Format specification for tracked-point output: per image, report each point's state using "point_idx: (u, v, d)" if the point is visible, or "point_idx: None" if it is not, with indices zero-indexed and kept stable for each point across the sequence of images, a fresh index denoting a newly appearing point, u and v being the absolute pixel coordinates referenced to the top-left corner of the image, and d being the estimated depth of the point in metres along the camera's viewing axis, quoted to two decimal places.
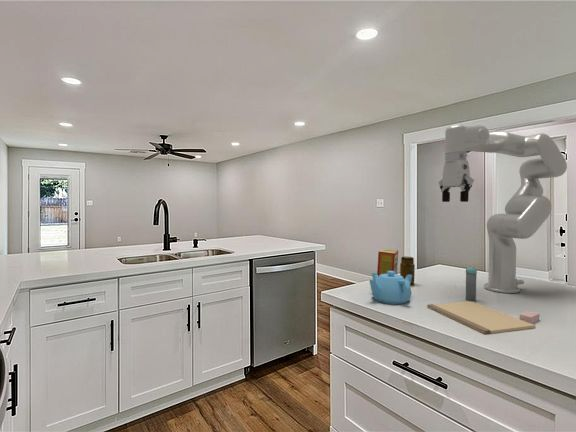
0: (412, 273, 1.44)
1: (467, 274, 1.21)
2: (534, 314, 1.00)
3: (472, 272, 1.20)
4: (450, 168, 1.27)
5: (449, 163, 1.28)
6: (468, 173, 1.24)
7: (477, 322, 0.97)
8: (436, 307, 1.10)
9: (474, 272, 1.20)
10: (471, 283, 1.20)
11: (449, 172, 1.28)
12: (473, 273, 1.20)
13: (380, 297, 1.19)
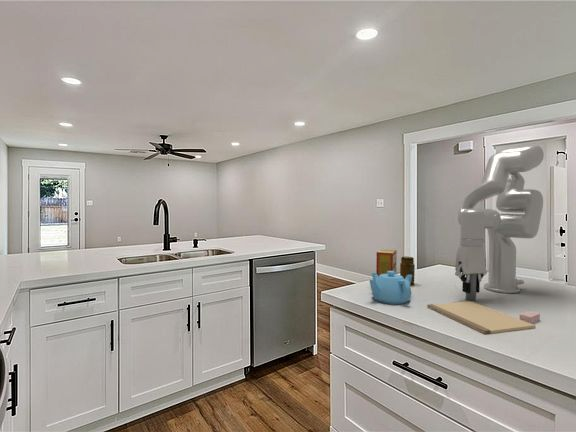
0: (412, 273, 1.44)
1: None
2: (534, 314, 1.00)
3: None
4: (477, 255, 1.19)
5: (476, 249, 1.18)
6: None
7: (477, 322, 0.97)
8: (436, 307, 1.10)
9: None
10: (471, 283, 1.20)
11: (476, 259, 1.19)
12: None
13: (380, 297, 1.19)
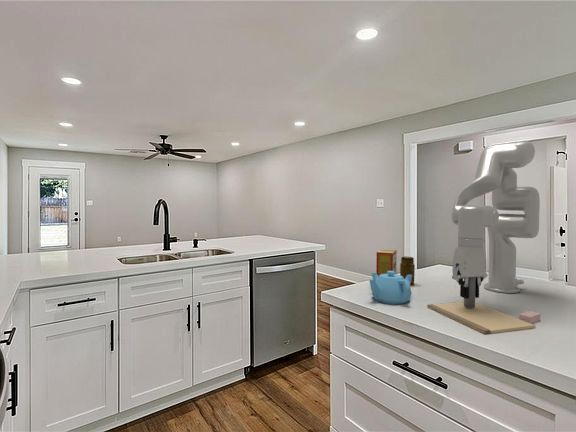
0: (412, 273, 1.44)
1: None
2: (534, 314, 1.00)
3: None
4: (476, 256, 1.07)
5: (475, 250, 1.07)
6: None
7: (477, 322, 0.97)
8: (436, 307, 1.10)
9: None
10: (470, 288, 1.09)
11: (475, 261, 1.07)
12: None
13: (380, 297, 1.19)
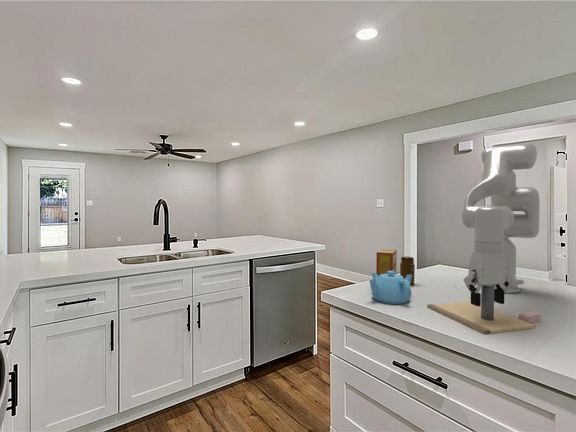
0: (412, 273, 1.44)
1: (483, 287, 1.00)
2: (533, 314, 1.00)
3: (489, 285, 0.98)
4: (496, 262, 0.97)
5: (494, 255, 0.97)
6: None
7: (477, 322, 0.97)
8: (436, 307, 1.10)
9: (492, 285, 0.98)
10: (488, 298, 0.99)
11: (494, 267, 0.97)
12: (491, 286, 0.98)
13: (380, 297, 1.19)
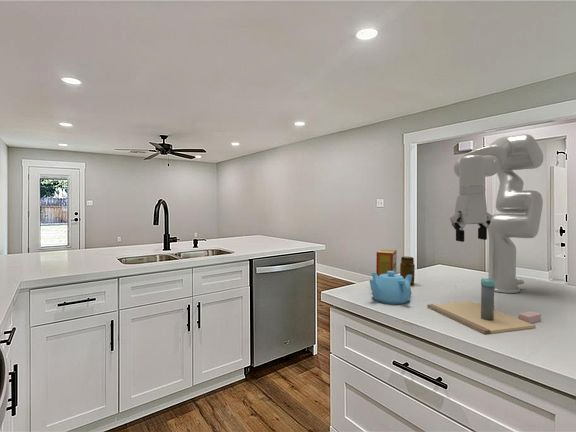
0: (412, 273, 1.44)
1: (483, 287, 1.00)
2: (533, 314, 1.00)
3: (489, 285, 0.98)
4: (478, 203, 1.11)
5: (476, 197, 1.11)
6: None
7: (477, 322, 0.97)
8: (436, 307, 1.10)
9: (492, 285, 0.98)
10: (488, 298, 0.99)
11: (476, 207, 1.11)
12: (490, 286, 0.98)
13: (380, 297, 1.19)
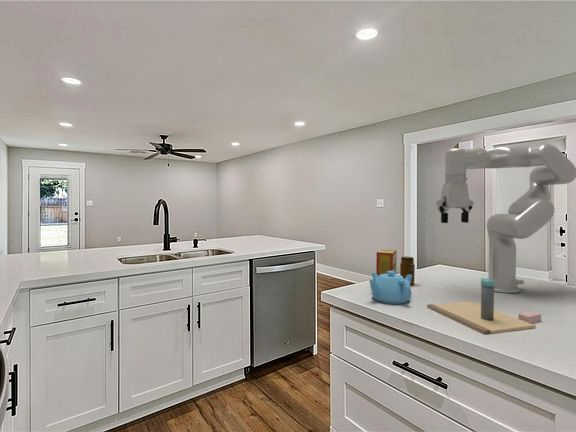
0: (412, 273, 1.44)
1: (483, 287, 1.00)
2: (533, 314, 1.00)
3: (489, 285, 0.98)
4: (460, 190, 1.29)
5: (459, 185, 1.28)
6: None
7: (477, 322, 0.97)
8: (436, 307, 1.10)
9: (491, 285, 0.98)
10: (488, 298, 0.99)
11: (459, 193, 1.29)
12: (490, 286, 0.98)
13: (380, 297, 1.19)
